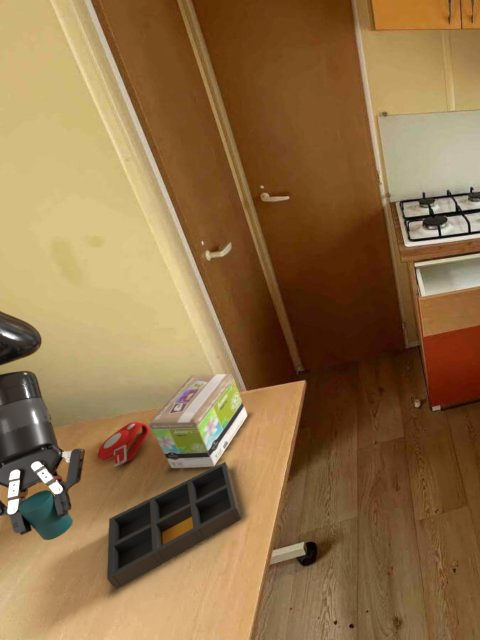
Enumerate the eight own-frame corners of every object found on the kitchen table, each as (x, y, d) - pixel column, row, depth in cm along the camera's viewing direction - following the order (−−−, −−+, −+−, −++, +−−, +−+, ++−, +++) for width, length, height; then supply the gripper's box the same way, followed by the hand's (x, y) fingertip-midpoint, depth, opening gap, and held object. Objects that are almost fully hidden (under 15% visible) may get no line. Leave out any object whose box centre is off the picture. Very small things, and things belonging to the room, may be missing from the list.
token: (40, 545, 73) (16, 517, 70) (43, 527, 76) (20, 499, 72) (72, 530, 76) (50, 502, 72) (73, 513, 78) (52, 485, 75)
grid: (115, 589, 75) (106, 579, 73) (117, 529, 84) (109, 518, 82) (241, 518, 86) (236, 508, 84) (230, 472, 95) (225, 461, 93)
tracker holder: (84, 455, 97) (124, 415, 104) (100, 464, 100) (139, 425, 107) (111, 463, 92) (152, 421, 100) (127, 472, 95) (166, 431, 102)
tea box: (216, 467, 96) (193, 422, 89) (171, 469, 95) (144, 424, 89) (249, 415, 109) (232, 372, 102) (209, 416, 109) (189, 373, 102)
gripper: (-54, 451, 68) (-30, 557, 66) (66, 409, 76) (93, 501, 74) (-27, 451, 74) (-4, 548, 72) (81, 412, 82) (106, 497, 80)
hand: (45, 523), depth 73 cm, fingers closed on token, 4 cm apart
